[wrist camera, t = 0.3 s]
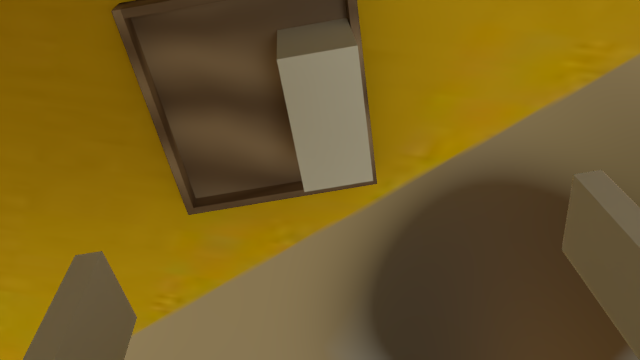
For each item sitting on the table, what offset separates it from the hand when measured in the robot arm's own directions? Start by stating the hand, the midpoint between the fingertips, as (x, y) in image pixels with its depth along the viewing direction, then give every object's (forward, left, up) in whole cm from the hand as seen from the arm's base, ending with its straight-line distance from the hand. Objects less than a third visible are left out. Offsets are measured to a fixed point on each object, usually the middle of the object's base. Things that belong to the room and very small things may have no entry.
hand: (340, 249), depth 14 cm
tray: (+6, -4, -26) cm, 27 cm away
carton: (+6, 0, -25) cm, 26 cm away
